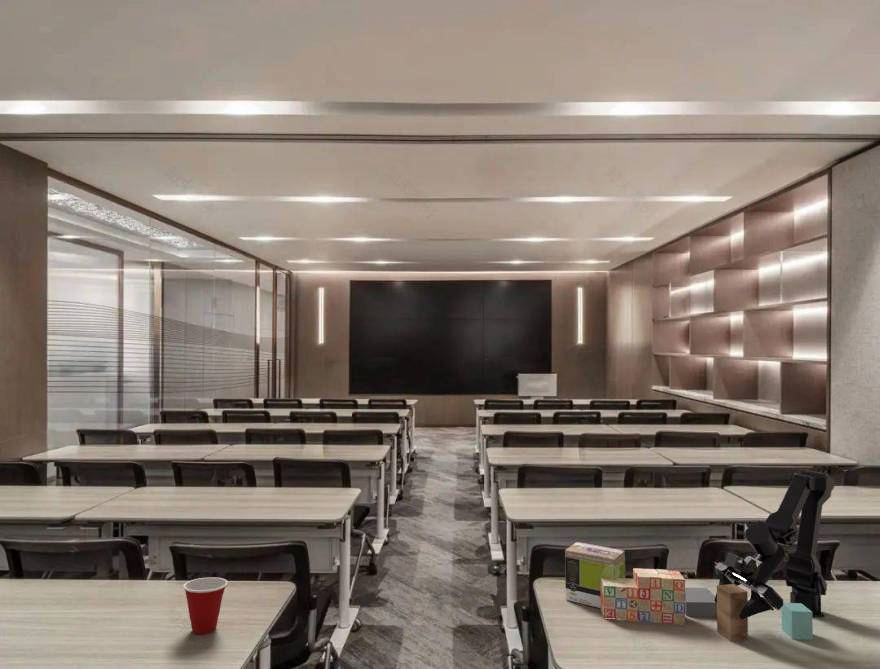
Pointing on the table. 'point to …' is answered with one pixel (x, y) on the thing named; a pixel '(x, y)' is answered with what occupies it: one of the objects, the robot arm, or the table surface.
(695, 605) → the base block
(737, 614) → the walnut block
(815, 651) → the table surface
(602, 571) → the tea box
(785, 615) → the teal block
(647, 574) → the stack of blocks
